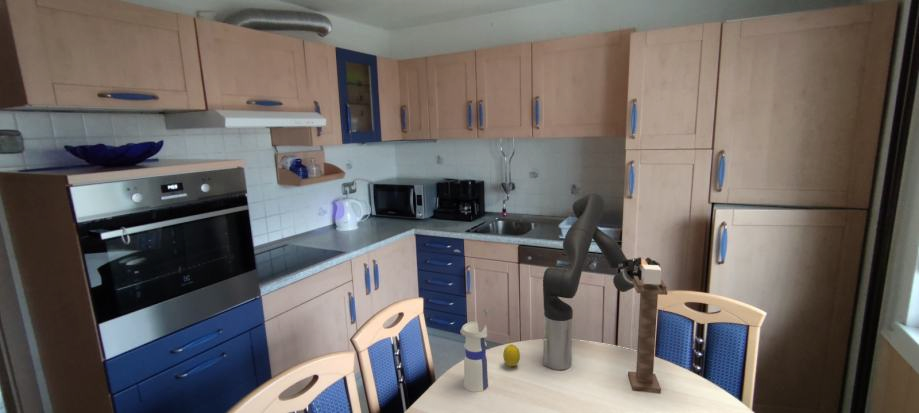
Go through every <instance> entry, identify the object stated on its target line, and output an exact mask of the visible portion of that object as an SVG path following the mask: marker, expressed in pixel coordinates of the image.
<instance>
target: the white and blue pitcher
mask: <svg viewBox="0 0 919 413" xmlns="http://www.w3.org/2000/svg"><path fill="white" fill-rule="evenodd" d="M482 311H483V316H486V318H489V313H490V311H488V310H487V307H486V306H484V308H482ZM460 334H461V335H462V337H463V336H464V337H465V343H463V347H464V349H465V356H464V359H463V365H464V366H463V370H464V372H463V387H464V388H465V390H467V391H469V392H473V393H481V392H483V391H486V390H487V388H489V375H488V374H489V372H488V358H487V354H486V353H487V352H486V350H487V342H486V340H485V338H487V337H488V327H487V324H485V325H484V327H483V330H482V331H479V324H478V322H476V321H468V322H467V323H465V324H463V325H462V327H461V329H460Z"/></svg>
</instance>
